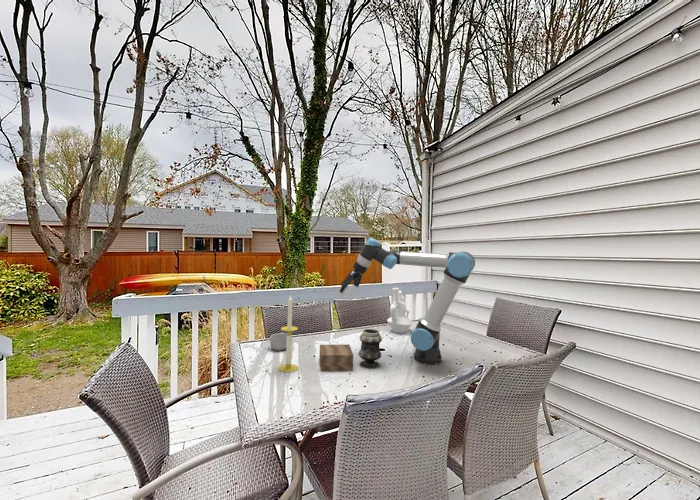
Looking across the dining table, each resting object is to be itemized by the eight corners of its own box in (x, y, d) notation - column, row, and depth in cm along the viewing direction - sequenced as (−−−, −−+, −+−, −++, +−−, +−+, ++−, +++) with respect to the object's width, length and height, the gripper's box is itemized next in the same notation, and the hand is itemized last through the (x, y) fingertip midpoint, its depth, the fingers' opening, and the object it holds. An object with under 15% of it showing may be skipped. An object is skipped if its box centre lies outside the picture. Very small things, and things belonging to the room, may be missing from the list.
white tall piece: (416, 332, 245) (419, 287, 244) (398, 338, 230) (400, 290, 228) (396, 326, 258) (398, 284, 256) (377, 332, 242) (379, 286, 241)
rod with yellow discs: (289, 374, 166) (291, 296, 164) (273, 369, 171) (275, 294, 169) (302, 367, 175) (304, 294, 173) (287, 363, 180) (289, 291, 178)
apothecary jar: (384, 363, 184) (386, 330, 183) (374, 370, 174) (375, 335, 173) (365, 358, 191) (366, 326, 190) (353, 365, 181) (355, 331, 180)
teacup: (284, 353, 194) (284, 339, 194) (266, 351, 196) (266, 337, 196) (293, 345, 208) (293, 332, 207) (276, 343, 210) (276, 330, 209)
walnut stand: (348, 358, 189) (349, 344, 189) (352, 370, 173) (353, 355, 173) (319, 359, 187) (319, 344, 187) (320, 371, 171) (321, 355, 171)
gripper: (365, 260, 205) (348, 290, 209) (347, 260, 182) (328, 294, 186) (375, 267, 202) (357, 297, 206) (358, 268, 179) (339, 302, 183)
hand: (343, 296), depth 196 cm, fingers open, 13 cm apart
